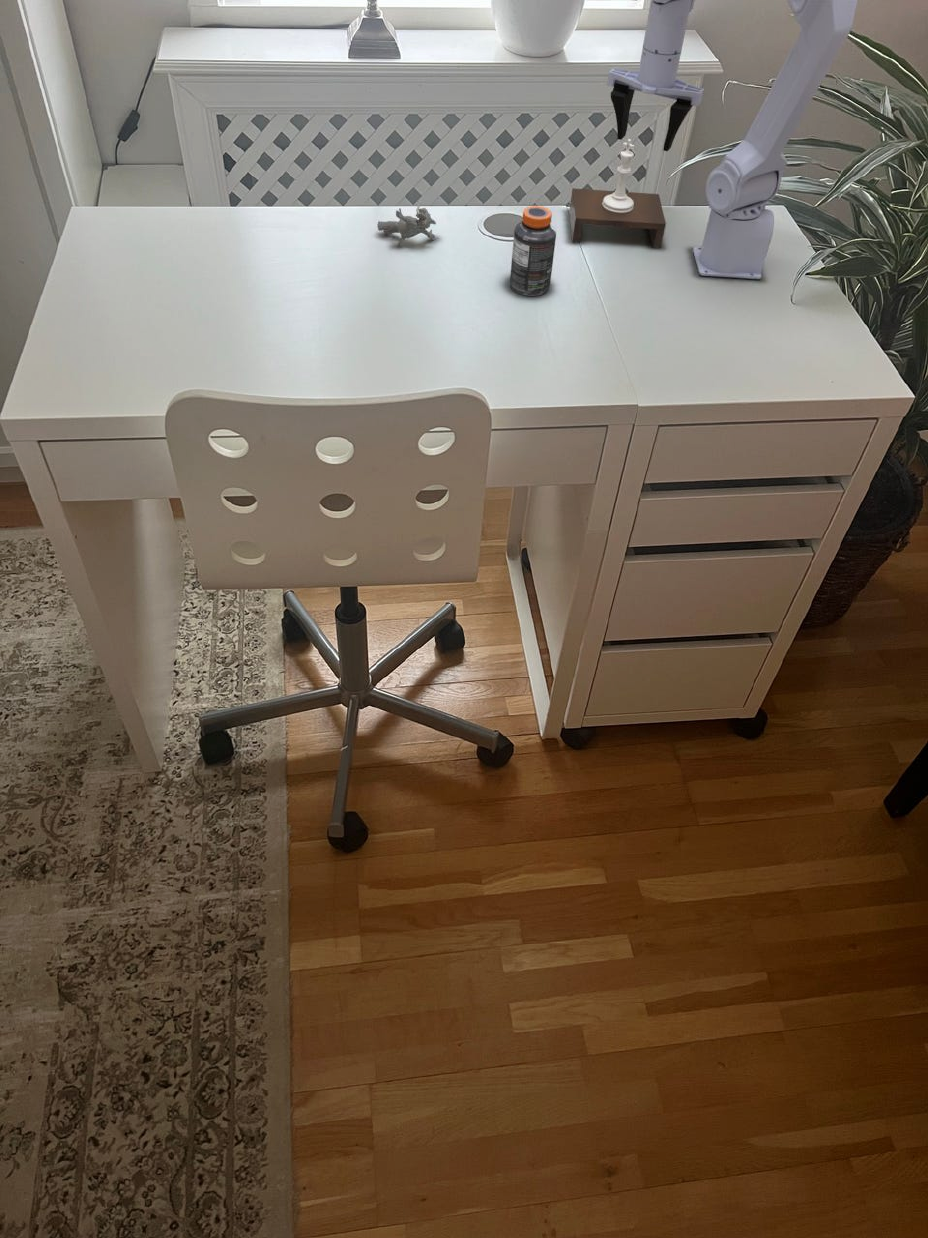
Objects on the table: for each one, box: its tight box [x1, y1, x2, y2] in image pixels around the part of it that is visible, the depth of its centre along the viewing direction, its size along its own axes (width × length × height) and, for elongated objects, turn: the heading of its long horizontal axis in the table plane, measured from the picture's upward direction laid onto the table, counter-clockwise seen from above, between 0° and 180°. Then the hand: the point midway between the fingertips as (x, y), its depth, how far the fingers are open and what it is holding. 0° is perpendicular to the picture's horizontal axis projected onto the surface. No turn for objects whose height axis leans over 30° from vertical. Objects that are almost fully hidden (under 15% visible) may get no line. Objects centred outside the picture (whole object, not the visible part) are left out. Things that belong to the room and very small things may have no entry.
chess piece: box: [602, 138, 635, 213], centre depth 148 cm, size 5×5×10 cm
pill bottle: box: [509, 205, 557, 297], centre depth 137 cm, size 6×6×11 cm
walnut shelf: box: [568, 188, 667, 249], centre depth 153 cm, size 14×10×4 cm
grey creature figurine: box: [377, 203, 437, 247], centre depth 146 cm, size 10×6×9 cm
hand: (644, 142), depth 152 cm, fingers open, 7 cm apart
